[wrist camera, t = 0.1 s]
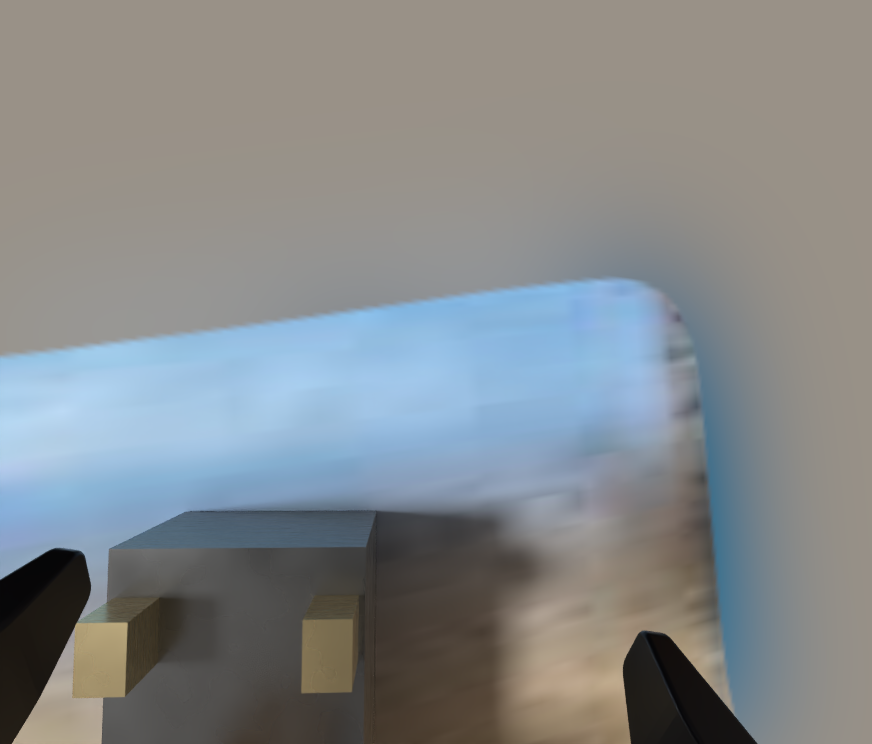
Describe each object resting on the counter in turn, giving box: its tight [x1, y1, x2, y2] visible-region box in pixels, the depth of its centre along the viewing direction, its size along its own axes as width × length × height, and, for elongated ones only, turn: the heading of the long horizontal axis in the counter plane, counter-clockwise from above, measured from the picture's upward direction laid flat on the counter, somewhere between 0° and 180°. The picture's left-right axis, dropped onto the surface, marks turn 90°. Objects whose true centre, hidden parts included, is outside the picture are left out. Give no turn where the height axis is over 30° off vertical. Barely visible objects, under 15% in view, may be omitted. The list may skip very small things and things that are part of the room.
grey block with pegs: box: [72, 511, 376, 744], centre depth 19 cm, size 13×8×8 cm, turn 0°
